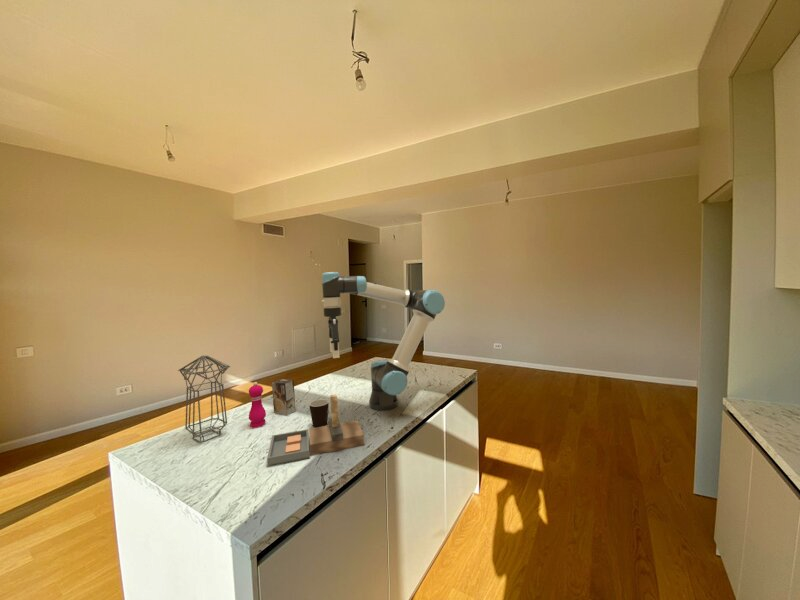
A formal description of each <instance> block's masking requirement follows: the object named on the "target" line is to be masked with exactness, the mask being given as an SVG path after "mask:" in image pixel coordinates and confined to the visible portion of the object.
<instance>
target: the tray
mask: <svg viewBox="0 0 800 600" xmlns="http://www.w3.org/2000/svg"><path fill="white" fill-rule="evenodd" d="M295 435H301V445H300V451H297V452H292V453H287V454H286V446H287V438H288V437H290V436H295ZM310 456H311V455H310V438H309V429H307V428H306V429H302V430H301V429H300V430H295V431H291V432H284V433H279V434H273V435H272V436H271V440H270V445H269V448H268V453H267V457H266V462H267V467H274V466H279V465H283V464H288V463H289V464H290V463H293V462H294V463H295V462H299V461H303V460H309V459H310Z"/></svg>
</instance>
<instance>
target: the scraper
mask: <svg viewBox="0 0 800 600" xmlns="http://www.w3.org/2000/svg"><path fill="white" fill-rule="evenodd" d="M329 398H330V415H331V416H330V417H328V425H329V427H330V432H331V437H332V442H334V441H340V440H343V432H342V428H341V425H340V423H341V421H340V418H339V405H338V402H339V401H338V395H337V393H336V394H330V397H329Z"/></svg>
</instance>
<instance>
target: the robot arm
mask: <svg viewBox="0 0 800 600" xmlns="http://www.w3.org/2000/svg"><path fill="white" fill-rule="evenodd" d="M321 280H322V282H321V288H322V297H323V299H322V300H321V303H323V305H322V306H323V307H324V308H323V317H328V320H327V323H328V337H329V352H330V353H332V359H340V358H341V357H340V336H339V321H338V319H337V317H340V316H342V308H341V306H342V304H341V301H342V300H341V294H350V295H353V296H354V295H355V296H361V297H364V298H369V299H373V300H374V299H375V300H379V301H382V302H383V301H384V302H388V303H392V304H396V305H397V304H398V305H401V306H402V307H403V308H406V309H410V310H412V313H413V315H412V317H411V320H410V321H409V323H408V326H407V327H406V329H405V331H404V334H403V336H402V338H401V340H400V341H399V344H398V346H397V347H396V350H395V352H394V353H393V356H392V358H389V359H380V360H376V361H371V363H370V377H371V378H370V380H371V394H370V397H369V400H368V401H369V404H368V405H369V407H370V409H372V410H377V411H387V410H392V409H395V408H396V407H398V406H399V398H398V395H400V394H402V393H403V392H404V391H405V390H406V388H407V386H408V378H407V377H408V374H409V373H410V369H409V365H410V363H411V361H412V359H413V357H414V354H415V353H416V351H417V349H418V346H419V344H420V343H421V341H422V338H423V336H424V335H425V332H426V330H427V328H428V326H429V324H430V322H433V321H434V320H435V319H436V316H437V315H438V314H441V313H442V312H443V310H444V309H445V305H446V301H445V297H444V295H443V294H442V293H441V292H440V291H438V290H436V289H435V290H434V289H427V290H426V289H420V290H419V289H418V290H417V289H416V290H413V289H405V290H403V289H399V288H396V287H395V288H394V287H390V286H385V285H382V284H377V283H373V282H367V278H366V277H365V276H363V275H349V276H341V275H340V273H339V272H338V271H329V272H327V271H326V272H323V273H322V277H321Z"/></svg>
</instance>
